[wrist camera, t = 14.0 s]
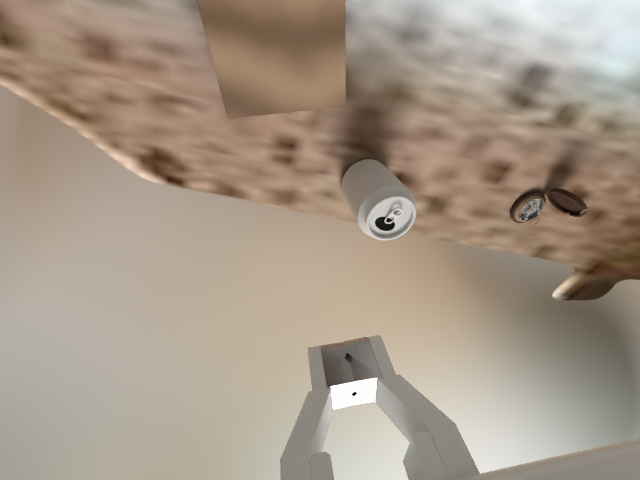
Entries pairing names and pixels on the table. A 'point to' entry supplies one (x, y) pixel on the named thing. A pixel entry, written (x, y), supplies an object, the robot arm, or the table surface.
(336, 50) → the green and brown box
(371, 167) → the can
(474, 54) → the table surface
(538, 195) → the compass
